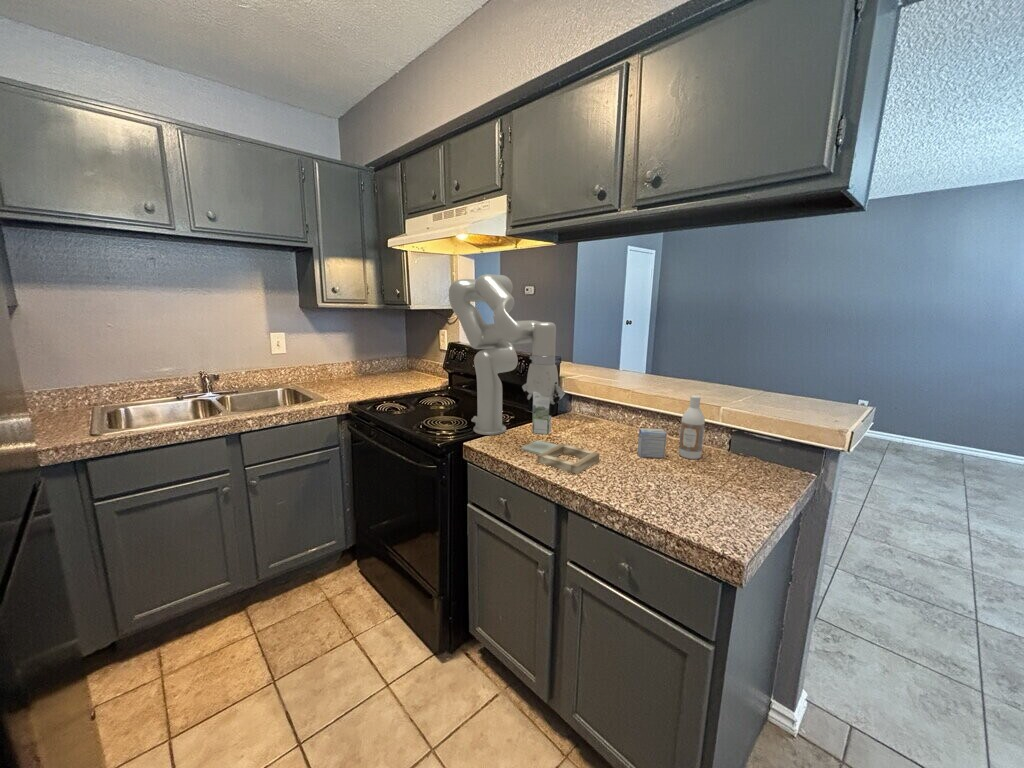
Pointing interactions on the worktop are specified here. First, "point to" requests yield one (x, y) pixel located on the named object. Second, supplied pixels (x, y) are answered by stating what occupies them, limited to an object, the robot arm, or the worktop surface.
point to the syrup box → (541, 414)
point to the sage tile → (538, 447)
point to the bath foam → (692, 430)
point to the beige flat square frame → (585, 462)
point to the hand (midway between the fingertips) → (542, 412)
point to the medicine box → (652, 443)
